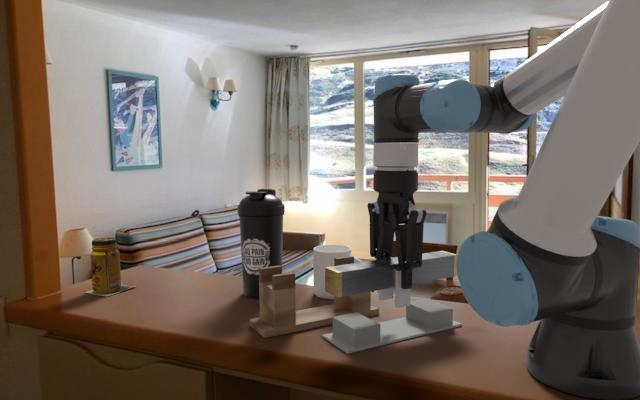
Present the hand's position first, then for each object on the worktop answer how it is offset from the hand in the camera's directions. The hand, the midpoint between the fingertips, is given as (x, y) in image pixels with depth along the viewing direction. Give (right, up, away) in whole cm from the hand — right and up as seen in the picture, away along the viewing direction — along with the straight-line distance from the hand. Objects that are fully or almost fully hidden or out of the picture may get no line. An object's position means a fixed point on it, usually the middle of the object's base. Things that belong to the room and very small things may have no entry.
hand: (394, 302), depth 89 cm
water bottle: (-26, -3, +24) cm, 35 cm away
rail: (0, +3, 0) cm, 3 cm away
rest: (0, -5, +1) cm, 5 cm away
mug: (-9, -3, +22) cm, 24 cm away
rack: (-14, -5, +7) cm, 16 cm away
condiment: (-61, -3, +27) cm, 67 cm away
